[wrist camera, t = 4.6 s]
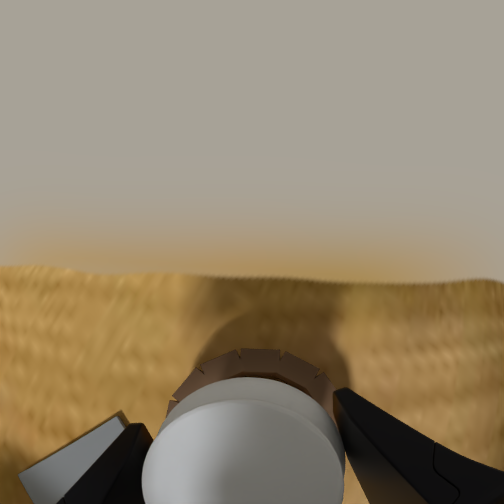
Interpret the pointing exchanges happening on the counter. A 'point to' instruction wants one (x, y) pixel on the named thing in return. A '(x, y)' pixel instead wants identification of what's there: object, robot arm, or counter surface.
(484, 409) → the counter surface
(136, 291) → the counter surface
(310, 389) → the c ring
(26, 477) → the mat
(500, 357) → the counter surface
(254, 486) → the supplement bottle
